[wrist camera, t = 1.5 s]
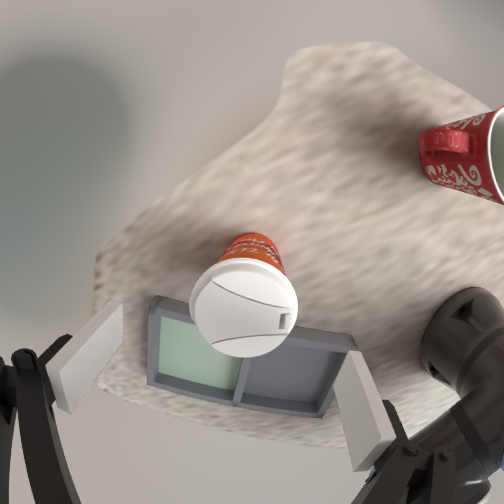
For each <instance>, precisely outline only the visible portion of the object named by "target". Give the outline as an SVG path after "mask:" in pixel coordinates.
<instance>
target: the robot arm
mask: <svg viewBox="0 0 504 504" xmlns="http://www.w3.org/2000/svg"><path fill="white" fill-rule="evenodd" d="M122 342H123V303H121V302H118V301H115V300H110V301H109V302H108V303H107V304H106V305H105V306H104V307H103V308H102V309H101V310H100V311H99V312H97V313H96V314H95V315H94V316H93V317H92V318H91V319H90V320H89V321H88V322H87V323H86V324H85V325H84V326H83V327H82V328H81V329H80V330H79V331H78V332H77V333H76V334H75V335H74V336H71V335H69V334H66V335H63V336H61V337H59V338H58V339H57V340H56V341H55V342H54V343H53V344H52V345H51V346H50V347H49V349H47V350H46V351H45V352H44V353H43V354H42V355H41V356H40V357H39V358H38V359H37V356H36V353H35V352H34V351H33V350H30V349H25V348H23V349H19V350H17V351H15V352H14V353H13V354H12V357H11V361H12V364H13V367H12V366H8V365H5V363H4V361H3V358H2V357H0V504H9V471H10V458H11V447H12V439H13V431H14V424H15V419H16V412H17V410H18V420H19V428H20V436H21V442H22V448H23V454H24V459H25V464H26V469H27V473H28V478H29V482H30V486H31V490H32V493H33V497H34V500H35V504H81V502H80V499H79V497H78V494H77V491H76V489H75V486H74V483H73V481H72V478H71V475H70V472H69V469H68V466H67V463H66V459H65V456H64V452H63V449H62V446H61V442H60V438H59V434H58V430H57V426H56V421H55V417H54V412H53V408H52V404H53V402H54V401H55V400H56V403H57V406H58V408H60V409H62V410H64V411H66V412H68V413H70V414H71V413H72V412H73V410H74V409H75V407H76V406H77V405H78V403H79V402H80V400H81V399H82V397H83V396H84V394H85V393H86V392H87V390H88V389H89V387H90V386H91V385H92V383H93V382H94V380H95V379H96V378H97V376H98V375H99V373H100V372H101V371H102V369H103V368H104V366H105V365H106V364H107V362H108V361H109V360H110V358H111V357H112V356H113V354H114V353H115V351H116V350H117V349H118V347H119V346H120V345H121V343H122ZM420 354H421V360H422V363H423V365H424V367H425V368H426V370H427V371H428V373H429V374H430V375H431V376H432V377H433V378H434V379H436V380H438V381H439V382H441V383H443V384H444V385H446V386H448V387H449V388H451V389H453V390H454V391H456V392H457V394H458V395H459V397H460V398H461V399H460V400H459V401H458V402H457V403H456V404H455V405H453V406H452V407H451V408H450V409H448V410H447V411H446V412H445V413H443V414H442V415H441V416H439V417H438V418H437V419H436V420H434V421H433V422H432V423H430V424H429V425H428V426H426V427H425V428H423V429H422V430H421V431H419V432H418V433H416V434H415V435H413V436H412V437H410V438H409V439H408V438H407V435H406V433H405V431H404V428H403V426H402V423H401V421H399V420H400V419H399V417H398V415H397V412H396V410H395V407H394V406H393V405H392V404H391V403H390V401H389V400H381V397H380V395H379V393H378V390H377V388H376V385H375V383H374V381H373V378H372V376H371V374H370V371H369V369H368V367H367V365H366V362H365V360H364V358H363V356H362V353H361V352H359V351H351V350H349V352H348V354H347V356H346V358H345V361H344V363H343V365H342V367H341V369H340V372H339V374H338V376H337V378H336V380H335V382H334V384H333V387H334V391H335V395H336V399H337V403H338V407H339V411H340V415H341V419H342V423H343V428H344V432H345V436H346V440H347V445H348V449H349V454H350V458H351V463H352V467H353V471H354V472H358V471H368V470H369V469H370V468H371V467H372V468H371V470H370V473H369V478H368V479H367V480H366V481H365V482H366V484H365V485H364V486H363V488H362V489H361V491H360V492H359V494H358V495H357V496H356V498H355V499H354V500H353V502H352V503H351V504H486V503H487V500H488V497H489V495H490V493H491V490H492V486H491V484H490V482H489V481H488V479H487V478H488V477H489V476H490V475H492V474H493V473H494V472H495V471H497V470H498V469H499V468H501V469H502V470H503V471H504V309H503V307H502V305H501V303H500V302H499V300H498V299H497V298H496V297H495V296H494V295H493V294H491V293H490V292H488V291H487V290H485V289H483V288H478V287H474V288H468V289H465V290H463V291H461V292H459V293H457V294H456V295H454V296H453V297H452V298H450V299H449V300H448V301H447V302H446V303H445V304H444V305H443V306H442V307H441V308H440V309H439V310H438V311H437V313H436V314H435V315H434V317H433V318H432V320H431V321H430V323H429V325H428V327H427V329H426V331H425V333H424V336H423V339H422V343H421V351H420Z"/></svg>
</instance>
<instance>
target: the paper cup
mask: <svg viewBox="0 0 504 504" xmlns="http://www.w3.org/2000/svg"><path fill="white" fill-rule="evenodd" d="M189 310H190V314H191V318H192V320H193V321H194V323H195V324H196V326H197V328H198V329H199V332H200V333H201V334H202V336H203V337H204V339H205V340H206V341H207V342H208V343H209V344H210V345H211V346H212V347H213V348H215V349H216V350H218V351H220V352H222V353H224V354H227V355H230V356H235V357H245V358H247V357H255V356H260V355H263V354H265V353H268V352H270V351H271V350H273V349H275V348H276V347H277V346H279V345H280V344H281V343H282V342H283V341H284V339H285V338H286V336H287V335H288V334H289V333H290V331H291V330H292V328H293V326H294V324H295V322H296V318H297V313H298V302H297V297H296V293H295V291H294V289H293V286H292V284H291V283H290V282H289V280H288V279H287V277H286V275H285V272H284V269H283V265H282V262H281V259H280V256H279V253H278V251H277V248H276V247H275V245H274V243H273V242H272V241H271V240H270V239H269V238H267V237H266V236H264V235H262V234H258V233H247V234H244V235H241V236H240V237H238V238H237V239H236V240H234V241H233V242H232V244H231V245H230V246H229V247H228V248H227V250H226V251H225V252H224V253H223V255H222V256H221V257H220V259H219V260H218V261H217V263H216V264H215V265H213V266H212V267H210V268H209V269H207V270H206V271H205V272H204V273H203V274H202V275H201V276H200V278H199V279H198V281H197V282H196V284H195V286H194V288H193V290H192V292H191V294H190V296H189Z"/></svg>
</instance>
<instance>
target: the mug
mask: <svg viewBox="0 0 504 504" xmlns="http://www.w3.org/2000/svg"><path fill="white" fill-rule="evenodd" d="M419 150H420V158H421V163H422V166H423V169H424V171H425V173H426V174H427V176H428V177H429V178H430V179H431V180H432V181H433V182H434V183H436V184H438V185H441V186H444V187H448V188H452V189H455V190H458V191H462V192H465V193H468V194H472V195H475V196H478V197H481V198H485V199H487V200H490V201H493V202H496V203H500V204H502V205H504V106H502V107H500V108H499V109H497V110H496V111H493V112H489V113H484V114H481V115H477V116H474V117H470V118H467V119H463V120H459V121H456V122H452V123H449V124H445V125H442V126H438V127H435V128H433V129H429V130H425V131H423V132H421V133H420V135H419Z"/></svg>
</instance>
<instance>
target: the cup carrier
mask: <svg viewBox="0 0 504 504" xmlns="http://www.w3.org/2000/svg"><path fill="white" fill-rule="evenodd" d="M356 349H357V346H356V344H355V342H354V339H353V337H352V335H345V334H339V333H332V332H326V331H320V330H314V329H308V328H303V327H297V326H293V328H292V330H291V331H290V333H289V334H288V335H287V336H286V338H285V339H284V341H283V342H282V343H281V344H280V345H279V346H277V347H276V348H275V349H273V350H271V351H270V352H268V353H265V354H263V355H260V356H255V357H247V358H245V357H235V356H230V355H227V354H224V353H222V352H220V351H218V350H216V349H215V348H213V347H212V346H211V345H210V344H209V343H208V342H207V341H206V340H205V339H204V337H203V336H202V334H201V333H200V332H199V329H198V328H197V326H196V324H195V323H194V321H193V320H192V318H191V314H190V310H189V303H184V302H180V301H176V300H172V299H168V298H165V297H161V296H156V297H155V298H154V300H153V301H152V302H151V303H150V305H149V313H148V337H147V385H150V386H154V387H157V388H160V389H164V390H167V391H171V392H174V393H178V394H182V395H185V396H189V397H193V398H197V399H202V400H206V401H210V402H215V403H219V404H224V405H229V406H234V407H239V408H245V409H250V410H256V411H263V412H269V413H276V414H284V415H292V416H301V417H311V418H322V417H323V416H324V414H325V412H326V410H327V408H328V406H329V404H330V403H331V401H332V399H333V397H334V395H335V391H334V387H333V384H334V382H335V380H336V378H337V376H338V374H339V372H340V369H341V367H342V365H343V363H344V361H345V358H346V356H347V354H348V352H349V350H351V351H356Z"/></svg>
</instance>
